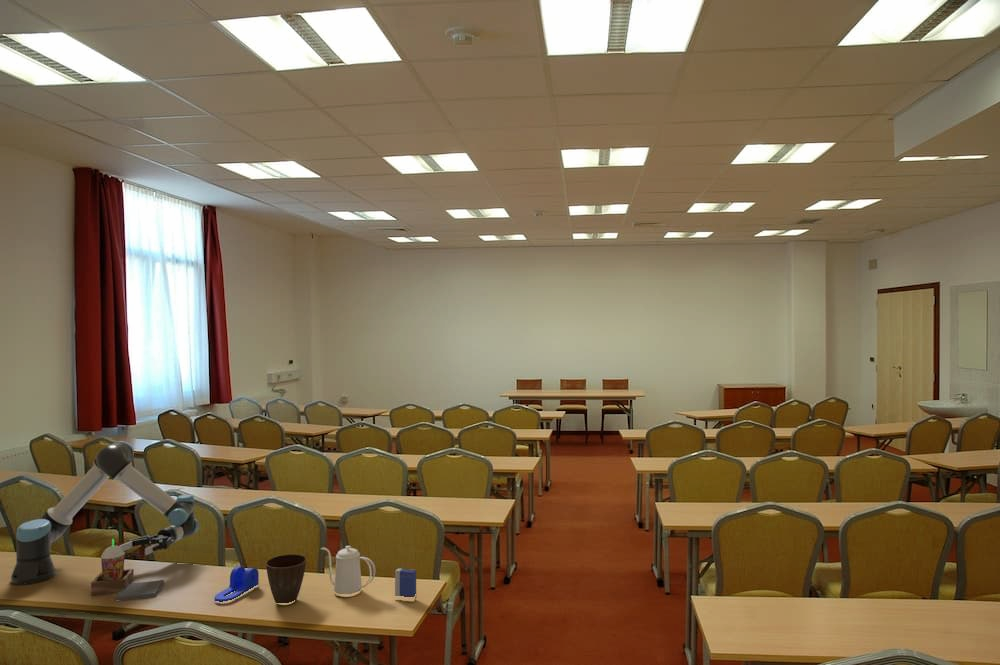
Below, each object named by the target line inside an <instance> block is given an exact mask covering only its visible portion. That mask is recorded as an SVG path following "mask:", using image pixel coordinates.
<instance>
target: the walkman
mask: <svg viewBox="0 0 1000 665" xmlns="http://www.w3.org/2000/svg"><path fill="white" fill-rule="evenodd" d="M394 572H395V574H394V575H395V576H394V597H395V596H404V597H414V596H415V594H416V595H417V570H416V569H414V568H410V569H408V568H407V569H406V568H401V567H398V568H397V569H396V570H394Z"/></svg>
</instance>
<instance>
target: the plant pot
mask: <svg viewBox="0 0 1000 665" xmlns="http://www.w3.org/2000/svg"><path fill="white" fill-rule="evenodd" d="M306 565H307V556H304V555H302V554H295V553H294V554H293V553H292V554H282V555H277V556H274V557H272V558H269V559H268V560H266V562H265V568H266V574H267V578H268V584H269V588H270V592H271V595H272V597H273V600H274V602H276V603H289V602H292V601H294V600H296V601H297V599H298V596H299V594H300V590H301V588H302V584H303V581H304V576H305V572H306ZM276 603H275V604H276Z"/></svg>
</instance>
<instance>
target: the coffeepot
mask: <svg viewBox="0 0 1000 665" xmlns="http://www.w3.org/2000/svg"><path fill="white" fill-rule="evenodd" d="M320 550H323V551H326V553H327V555H328V556H327V557H328V566H329V567H328V569H329V570H328V571H329V580H330V582H331V584H332V585H333V592H334V591H335V592H336V593H338V594H352V593H355V592H358V591H360V590H361V588H362V589H363V588H365V587H366V586H368V585H369V584H370V583H372V581H373V580H374V578H375V575H376V565H375V563H374V561H372V560H371V559H370V558H368V557H366V556H361V553H360V552H359V551H358V550H359V549H357V548H354V547H352V546H351V545H345V548H342V549H340V550H338V551H337V554H335V559H336V562H335V572H334V574H335V576H334V579H333V571H332V555H331V551H330V550H329V549H328V548H326V547H320ZM361 560H363V561H364V562H365V563H366V565H367V566H368V568H369V577H368V580H367V582H366V583H365V584H364V585H362V584H363V583H362V574H361V571H362V570H361ZM372 568H373V569H372ZM372 570H373V571H372Z"/></svg>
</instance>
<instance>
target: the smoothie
mask: <svg viewBox="0 0 1000 665" xmlns="http://www.w3.org/2000/svg"><path fill="white" fill-rule="evenodd" d="M125 554H126V552H125V551H123V549H122V548H121V547H120V545H115V539H114V538H112V539H111V545H110V546H107V548H105V549H104V550H103V552H102V554H101V555H100V559H101V561H100V562H101V572H102V578H103V581H107V580H117V579H123V570H125V569H124V568H125Z"/></svg>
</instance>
